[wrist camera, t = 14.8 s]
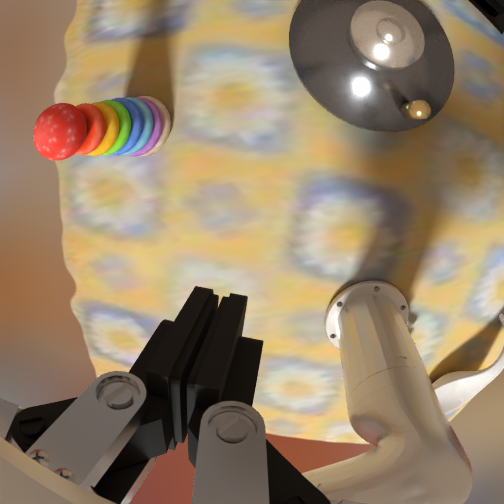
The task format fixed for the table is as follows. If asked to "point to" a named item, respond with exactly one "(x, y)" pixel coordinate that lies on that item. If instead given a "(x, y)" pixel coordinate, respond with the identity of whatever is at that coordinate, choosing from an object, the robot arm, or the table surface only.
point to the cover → (385, 36)
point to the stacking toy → (103, 128)
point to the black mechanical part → (492, 11)
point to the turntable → (365, 78)
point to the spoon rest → (465, 383)
